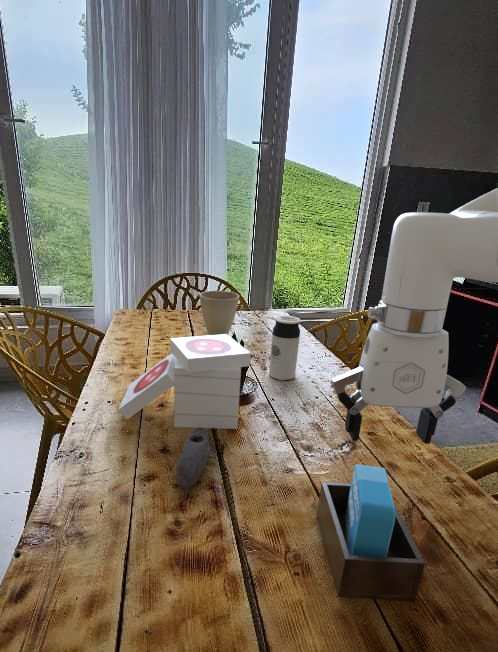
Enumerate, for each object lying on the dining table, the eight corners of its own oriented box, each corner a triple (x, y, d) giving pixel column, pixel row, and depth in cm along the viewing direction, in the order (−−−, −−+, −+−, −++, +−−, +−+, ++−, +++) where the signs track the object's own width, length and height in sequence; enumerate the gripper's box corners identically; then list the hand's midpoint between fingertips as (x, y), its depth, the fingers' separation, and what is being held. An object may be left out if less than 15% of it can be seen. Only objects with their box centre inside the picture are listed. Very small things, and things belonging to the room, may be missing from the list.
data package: (344, 520, 75) (355, 459, 70) (371, 524, 74) (384, 464, 70) (348, 575, 64) (361, 508, 60) (381, 581, 63) (397, 513, 59)
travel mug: (287, 369, 141) (293, 314, 134) (299, 379, 134) (306, 321, 127) (264, 371, 138) (269, 315, 132) (275, 381, 131) (281, 323, 125)
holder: (377, 517, 77) (384, 485, 75) (414, 601, 61) (425, 563, 59) (316, 514, 77) (321, 481, 75) (338, 596, 62) (345, 559, 59)
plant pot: (197, 329, 178) (198, 290, 172) (233, 330, 179) (236, 290, 173) (199, 341, 164) (201, 299, 158) (239, 341, 166) (242, 299, 160)
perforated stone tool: (194, 501, 79) (194, 468, 77) (166, 496, 80) (165, 463, 78) (213, 457, 93) (215, 427, 90) (189, 453, 94) (190, 424, 91)
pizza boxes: (131, 394, 119) (129, 330, 113) (243, 398, 120) (247, 334, 113) (116, 429, 102) (112, 355, 95) (247, 434, 102) (252, 361, 95)
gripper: (347, 323, 52) (330, 449, 58) (497, 328, 52) (463, 454, 58) (334, 308, 59) (320, 422, 65) (466, 312, 58) (438, 426, 65)
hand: (387, 437), depth 62 cm, fingers open, 9 cm apart
